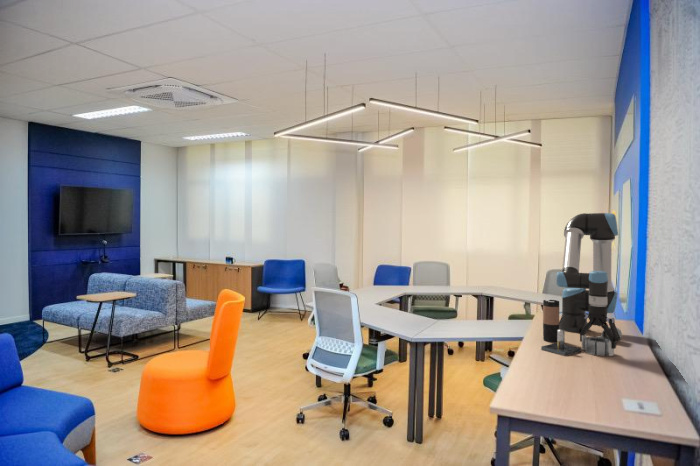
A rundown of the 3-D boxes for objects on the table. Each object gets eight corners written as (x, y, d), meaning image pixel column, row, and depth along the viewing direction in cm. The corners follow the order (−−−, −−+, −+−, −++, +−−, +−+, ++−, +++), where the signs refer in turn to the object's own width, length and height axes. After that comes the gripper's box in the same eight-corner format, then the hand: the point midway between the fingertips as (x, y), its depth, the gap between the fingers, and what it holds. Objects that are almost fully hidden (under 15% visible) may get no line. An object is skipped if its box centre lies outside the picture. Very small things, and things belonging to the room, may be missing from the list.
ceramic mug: (622, 341, 233) (622, 325, 233) (618, 344, 227) (618, 328, 227) (599, 338, 240) (599, 323, 240) (595, 341, 234) (594, 325, 234)
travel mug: (557, 343, 230) (557, 302, 230) (540, 340, 235) (541, 301, 234) (560, 339, 236) (561, 300, 236) (545, 337, 241) (545, 299, 240)
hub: (592, 348, 220) (593, 335, 220) (614, 353, 212) (614, 340, 212) (580, 351, 215) (580, 338, 215) (602, 357, 206) (602, 343, 206)
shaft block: (556, 345, 225) (557, 326, 225) (580, 351, 215) (580, 331, 215) (541, 349, 219) (541, 329, 218) (565, 355, 208) (565, 334, 208)
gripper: (568, 302, 221) (567, 347, 221) (620, 310, 201) (620, 360, 201) (577, 300, 225) (577, 345, 225) (630, 308, 205) (629, 357, 205)
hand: (597, 352), depth 213 cm, fingers open, 12 cm apart
